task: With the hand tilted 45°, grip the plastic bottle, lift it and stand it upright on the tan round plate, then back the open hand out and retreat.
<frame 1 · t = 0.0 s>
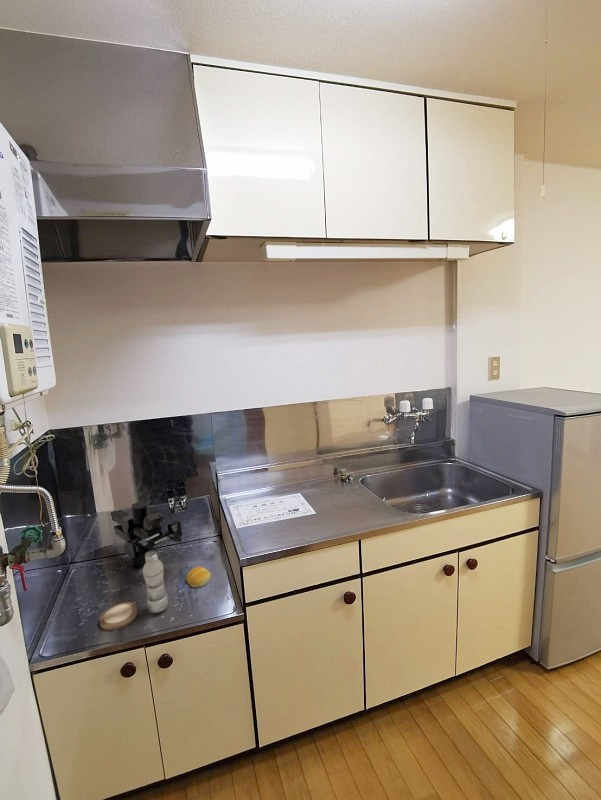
hand: (169, 546, 136), 17 cm above the worktop, tool horizontal, fingers open, 9 cm apart
plastic bottle: (158, 609, 129), on the worktop
bread roll: (198, 581, 143), on the worktop
tan round plate: (118, 617, 126), on the worktop
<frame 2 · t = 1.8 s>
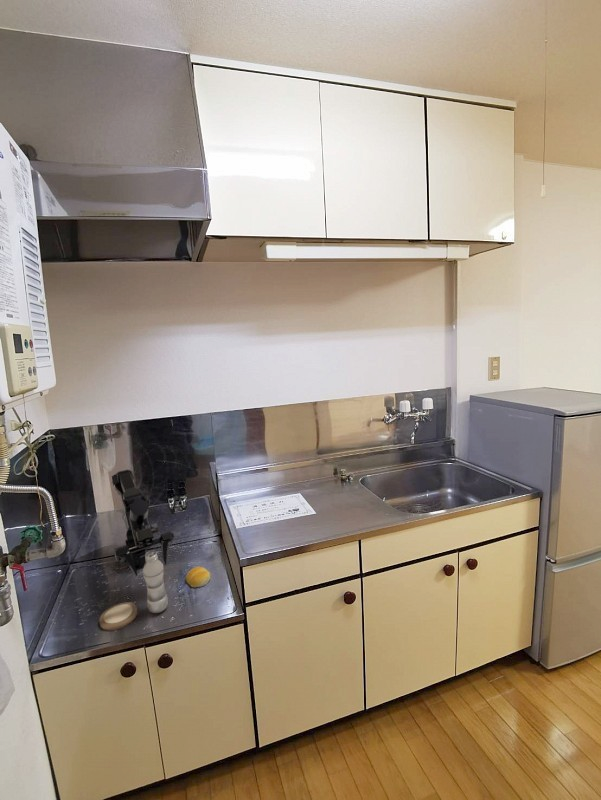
hand: (151, 570, 130), 12 cm above the worktop, tool tilted 45°, fingers open, 9 cm apart
nothing on the worktop moved.
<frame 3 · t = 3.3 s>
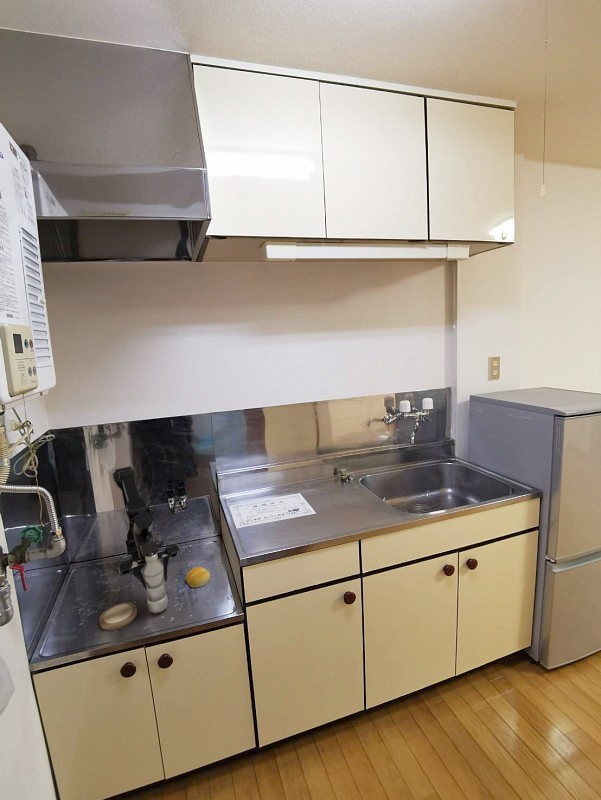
hand: (156, 585, 126), 10 cm above the worktop, tool tilted 45°, fingers closed on plastic bottle, 6 cm apart
plastic bottle: (158, 609, 129), on the worktop, touching gripper
everything else where it was.
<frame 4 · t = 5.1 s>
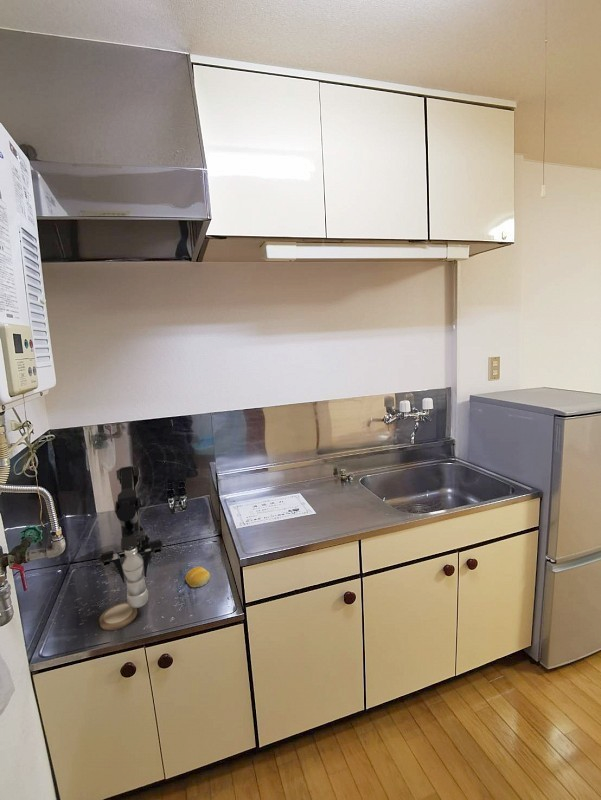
hand: (134, 579, 124), 13 cm above the worktop, tool tilted 45°, fingers closed on plastic bottle, 6 cm apart
plastic bottle: (139, 604, 127), point 3 cm above the worktop, touching gripper
everything else where it was.
when the fingers open (12 cm above the worktop, at t = 6.9 s): plastic bottle stays where it is, resting on tan round plate.
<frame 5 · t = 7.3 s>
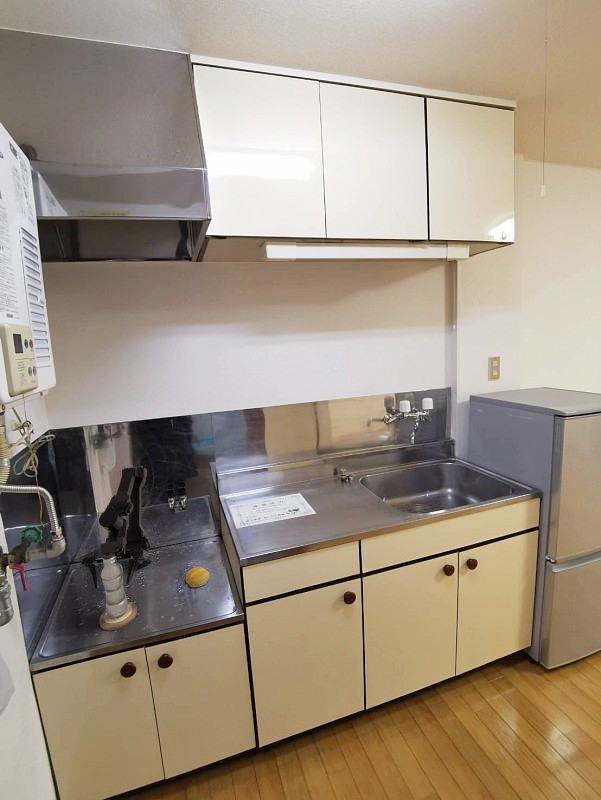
hand: (112, 586, 123), 12 cm above the worktop, tool tilted 45°, fingers open, 9 cm apart
plastic bottle: (118, 613, 126), point 1 cm above the worktop, touching tan round plate
everything else where it was.
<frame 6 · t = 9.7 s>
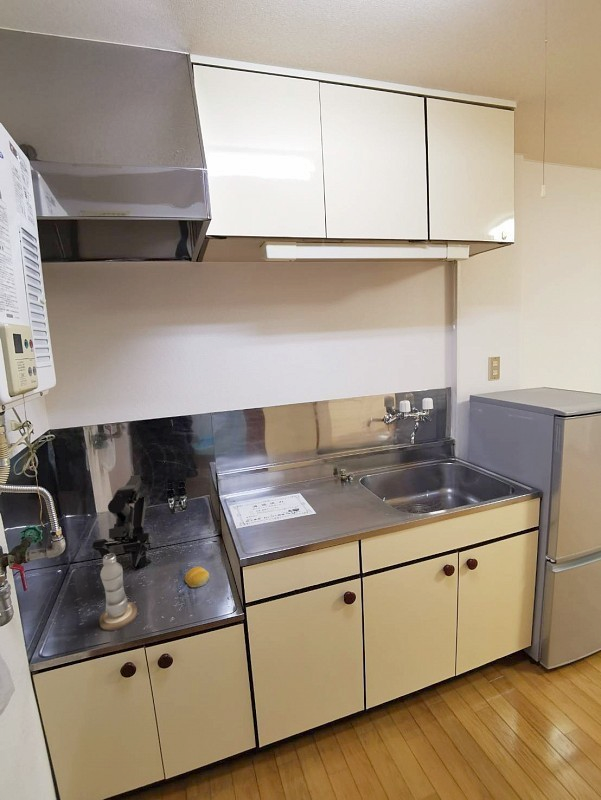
hand: (120, 568, 132), 12 cm above the worktop, tool tilted 45°, fingers open, 9 cm apart
nothing on the worktop moved.
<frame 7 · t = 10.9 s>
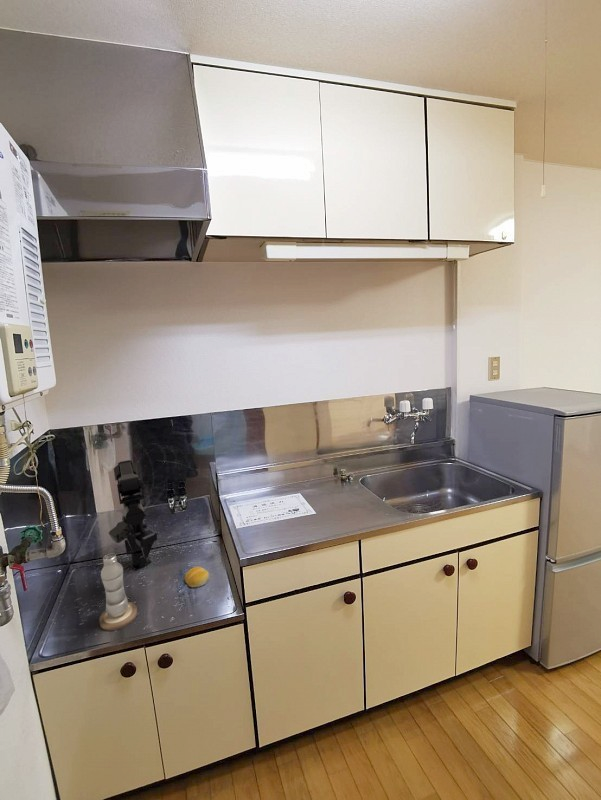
hand: (139, 553, 139), 13 cm above the worktop, tool pointing down, fingers open, 9 cm apart
nothing on the worktop moved.
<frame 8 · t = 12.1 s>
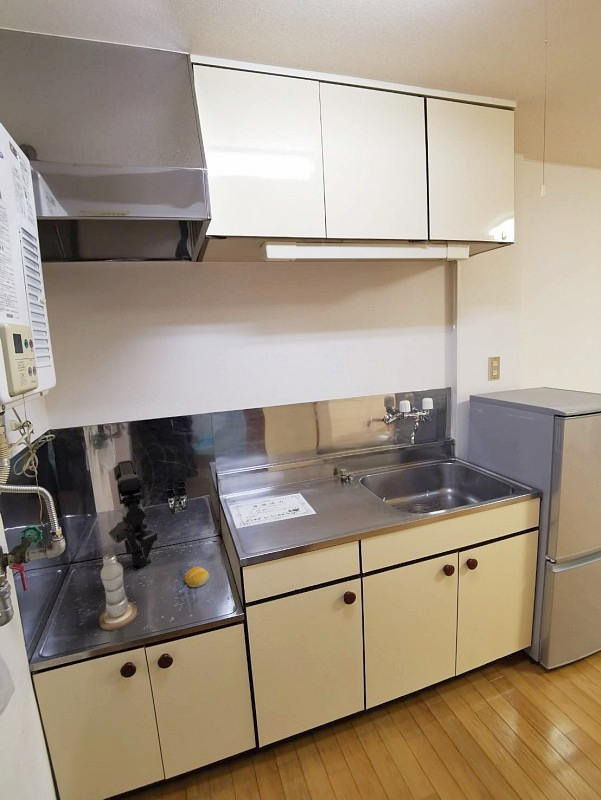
hand: (139, 553, 139), 13 cm above the worktop, tool pointing down, fingers open, 9 cm apart
nothing on the worktop moved.
at the end: plastic bottle 0.2 cm off-centre on the tan round plate, point 1.3 cm above the tan round plate's base; plastic bottle tilted 0°; the gripper is holding nothing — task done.
